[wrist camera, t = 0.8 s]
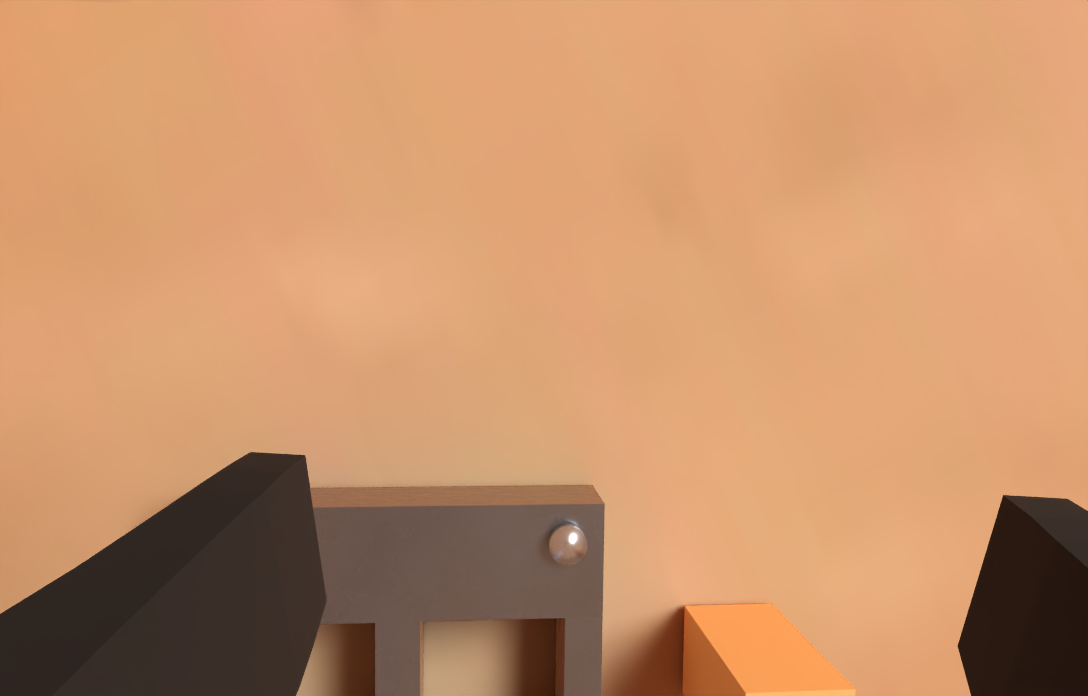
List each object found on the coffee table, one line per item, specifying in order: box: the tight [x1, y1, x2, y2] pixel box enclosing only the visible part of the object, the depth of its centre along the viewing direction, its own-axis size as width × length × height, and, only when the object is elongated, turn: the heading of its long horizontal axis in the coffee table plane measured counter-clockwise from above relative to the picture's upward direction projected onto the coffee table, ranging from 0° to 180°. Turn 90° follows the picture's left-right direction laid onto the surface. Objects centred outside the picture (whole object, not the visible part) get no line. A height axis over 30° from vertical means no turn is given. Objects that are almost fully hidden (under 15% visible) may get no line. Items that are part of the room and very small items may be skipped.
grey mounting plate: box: [310, 485, 604, 696], centre depth 28 cm, size 12×13×3 cm
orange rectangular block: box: [682, 604, 855, 696], centre depth 27 cm, size 3×3×6 cm
